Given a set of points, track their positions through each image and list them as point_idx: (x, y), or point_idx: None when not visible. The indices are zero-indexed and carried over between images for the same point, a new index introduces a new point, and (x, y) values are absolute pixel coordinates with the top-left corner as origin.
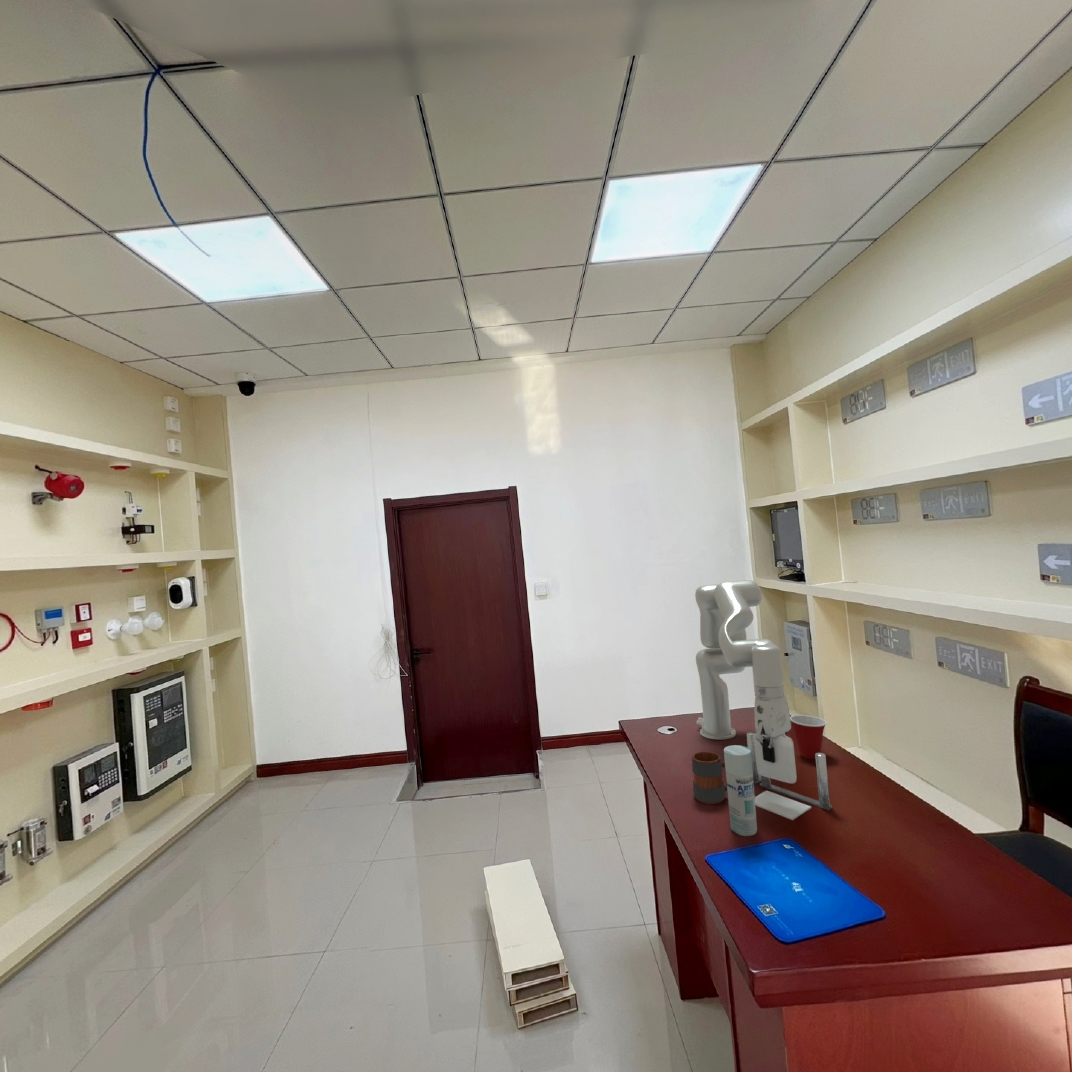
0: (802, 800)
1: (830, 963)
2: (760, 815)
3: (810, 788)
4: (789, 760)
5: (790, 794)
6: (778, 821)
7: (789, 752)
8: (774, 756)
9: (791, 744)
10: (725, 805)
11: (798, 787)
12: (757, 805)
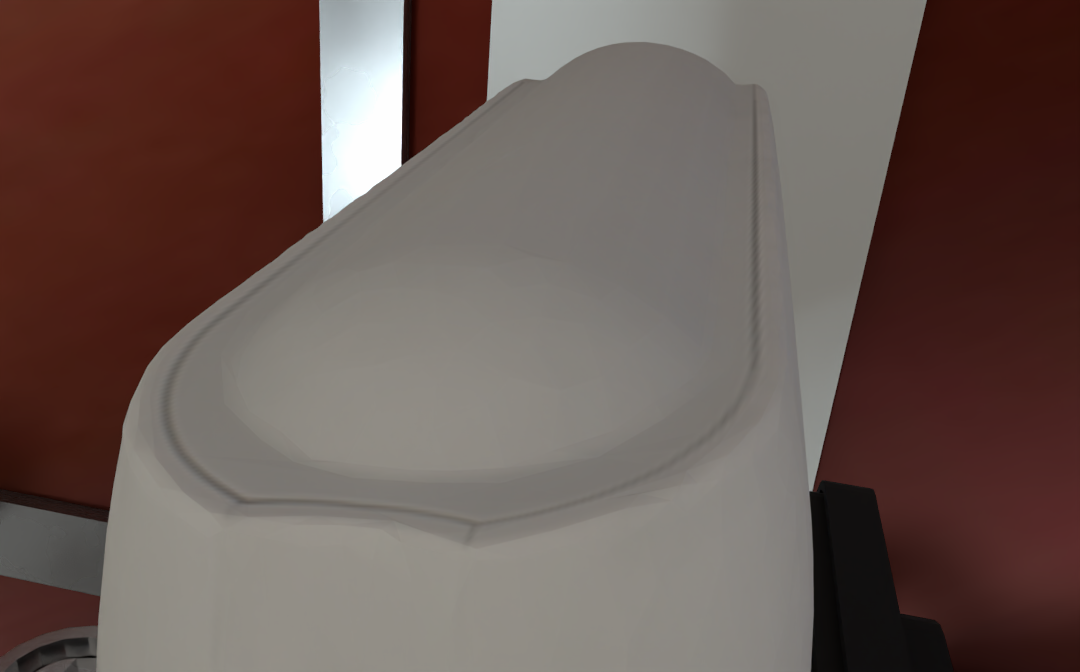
0: (407, 75)
1: None
2: (1022, 289)
3: (100, 133)
4: (713, 186)
5: None
6: (1058, 73)
7: (684, 247)
8: (851, 565)
9: (441, 316)
10: (1000, 629)
11: (169, 236)
12: (832, 395)
